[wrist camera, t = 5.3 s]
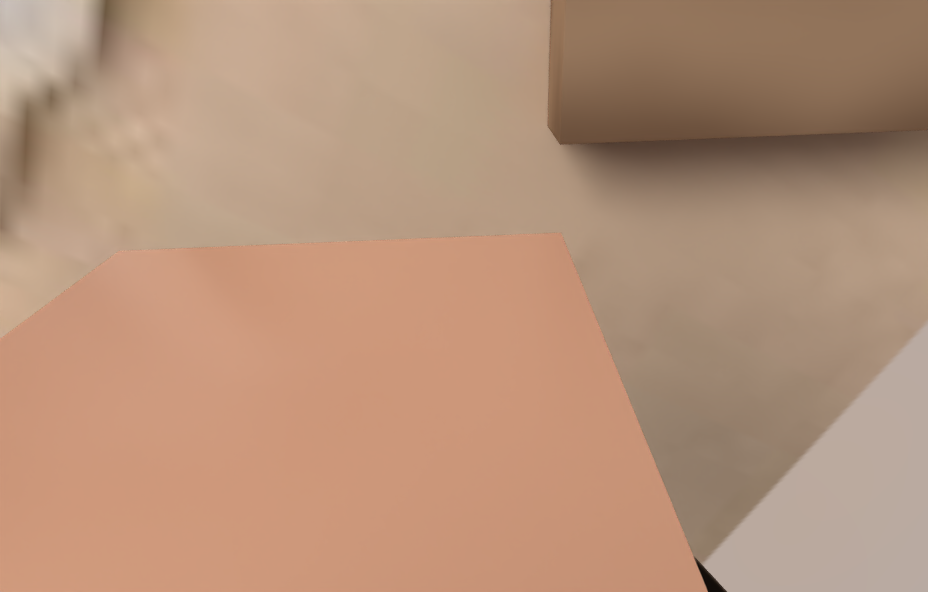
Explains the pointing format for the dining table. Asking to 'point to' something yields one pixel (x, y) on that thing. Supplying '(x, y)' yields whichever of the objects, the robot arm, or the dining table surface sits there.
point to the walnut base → (735, 68)
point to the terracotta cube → (328, 427)
